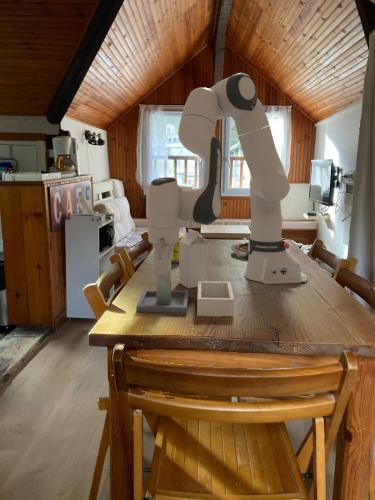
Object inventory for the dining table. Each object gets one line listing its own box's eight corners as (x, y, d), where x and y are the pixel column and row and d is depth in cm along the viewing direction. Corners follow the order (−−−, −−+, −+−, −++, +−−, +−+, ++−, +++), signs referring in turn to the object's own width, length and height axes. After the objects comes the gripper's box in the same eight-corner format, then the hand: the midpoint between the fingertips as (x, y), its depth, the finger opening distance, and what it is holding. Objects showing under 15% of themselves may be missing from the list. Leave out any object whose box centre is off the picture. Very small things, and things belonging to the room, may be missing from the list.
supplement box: (166, 262, 165) (166, 236, 162) (172, 259, 170) (172, 234, 168) (179, 263, 163) (179, 238, 160) (185, 260, 168) (185, 235, 165)
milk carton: (188, 288, 131) (188, 233, 127) (178, 283, 137) (179, 229, 133) (206, 285, 134) (207, 231, 130) (196, 280, 140) (197, 228, 136)
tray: (188, 297, 123) (188, 291, 123) (186, 314, 110) (186, 307, 109) (144, 296, 124) (143, 290, 123) (136, 313, 110) (136, 306, 110)
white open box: (229, 297, 124) (230, 281, 123) (233, 316, 108) (234, 299, 107) (198, 296, 124) (198, 281, 123) (197, 315, 108) (197, 298, 107)
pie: (290, 264, 166) (291, 252, 164) (226, 264, 166) (226, 252, 165) (277, 249, 193) (277, 239, 192) (221, 249, 193) (222, 239, 192)
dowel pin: (171, 300, 119) (171, 261, 116) (170, 305, 114) (170, 265, 112) (157, 300, 119) (156, 261, 116) (155, 305, 114) (155, 265, 112)
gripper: (171, 243, 102) (172, 293, 105) (177, 229, 122) (177, 272, 125) (147, 242, 102) (148, 293, 105) (156, 229, 122) (157, 272, 125)
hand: (164, 281), depth 115 cm, fingers open, 5 cm apart
